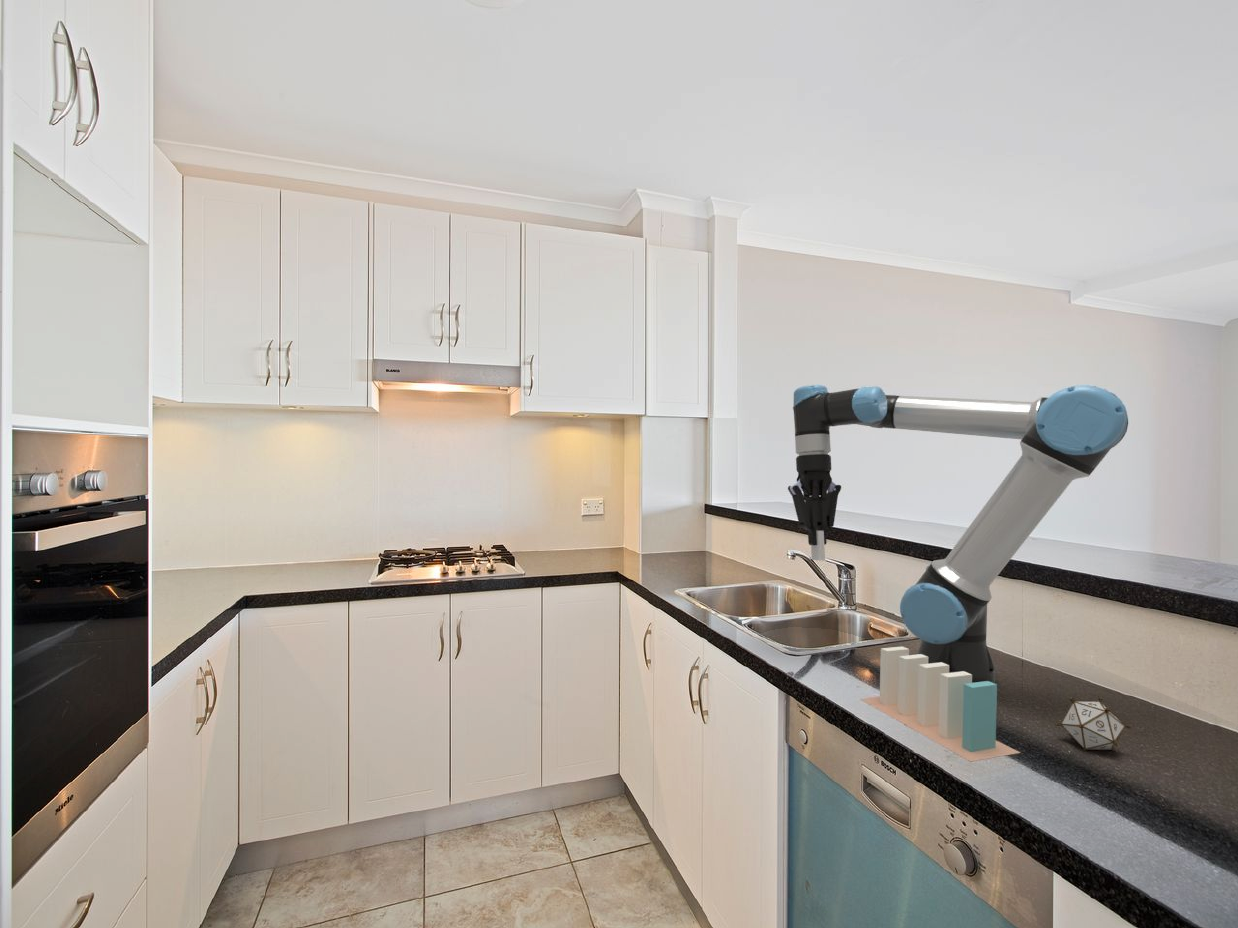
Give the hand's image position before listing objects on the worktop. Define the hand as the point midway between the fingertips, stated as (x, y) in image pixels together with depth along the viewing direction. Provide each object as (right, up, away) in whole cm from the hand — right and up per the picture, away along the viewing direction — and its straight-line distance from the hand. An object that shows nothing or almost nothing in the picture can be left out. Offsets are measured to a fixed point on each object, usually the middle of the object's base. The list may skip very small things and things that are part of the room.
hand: (818, 559), depth 133 cm
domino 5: (+12, -23, -39) cm, 47 cm away
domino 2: (+8, -23, -26) cm, 36 cm away
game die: (+31, -24, -38) cm, 55 cm away
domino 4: (+11, -23, -35) cm, 43 cm away
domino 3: (+9, -23, -31) cm, 40 cm away
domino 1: (+7, -23, -22) cm, 33 cm away
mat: (+9, -24, -31) cm, 40 cm away
